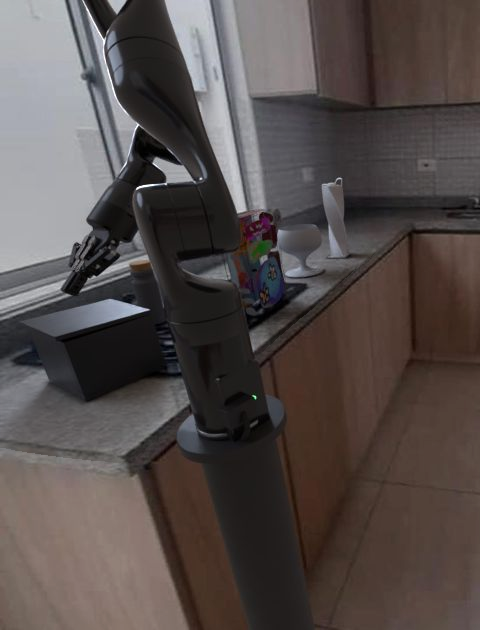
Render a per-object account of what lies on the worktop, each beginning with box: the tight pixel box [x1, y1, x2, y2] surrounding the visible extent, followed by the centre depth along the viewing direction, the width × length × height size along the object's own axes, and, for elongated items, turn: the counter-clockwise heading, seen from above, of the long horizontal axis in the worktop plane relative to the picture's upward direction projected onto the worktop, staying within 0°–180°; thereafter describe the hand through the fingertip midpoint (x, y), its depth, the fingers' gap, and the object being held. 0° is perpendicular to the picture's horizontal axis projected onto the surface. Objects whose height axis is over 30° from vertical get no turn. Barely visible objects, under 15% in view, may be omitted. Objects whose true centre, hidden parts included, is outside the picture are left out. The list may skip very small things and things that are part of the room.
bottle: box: [128, 259, 167, 326], centre depth 107 cm, size 6×6×15 cm
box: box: [221, 208, 288, 323], centre depth 112 cm, size 25×6×24 cm, turn 170°
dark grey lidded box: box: [27, 314, 167, 402], centre depth 82 cm, size 14×15×11 cm
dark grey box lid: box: [18, 298, 151, 341], centre depth 79 cm, size 15×15×1 cm
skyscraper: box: [321, 177, 351, 260], centre depth 159 cm, size 8×8×28 cm
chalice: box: [277, 223, 324, 278], centre depth 142 cm, size 14×14×15 cm
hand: (68, 293), depth 76 cm, fingers closed
